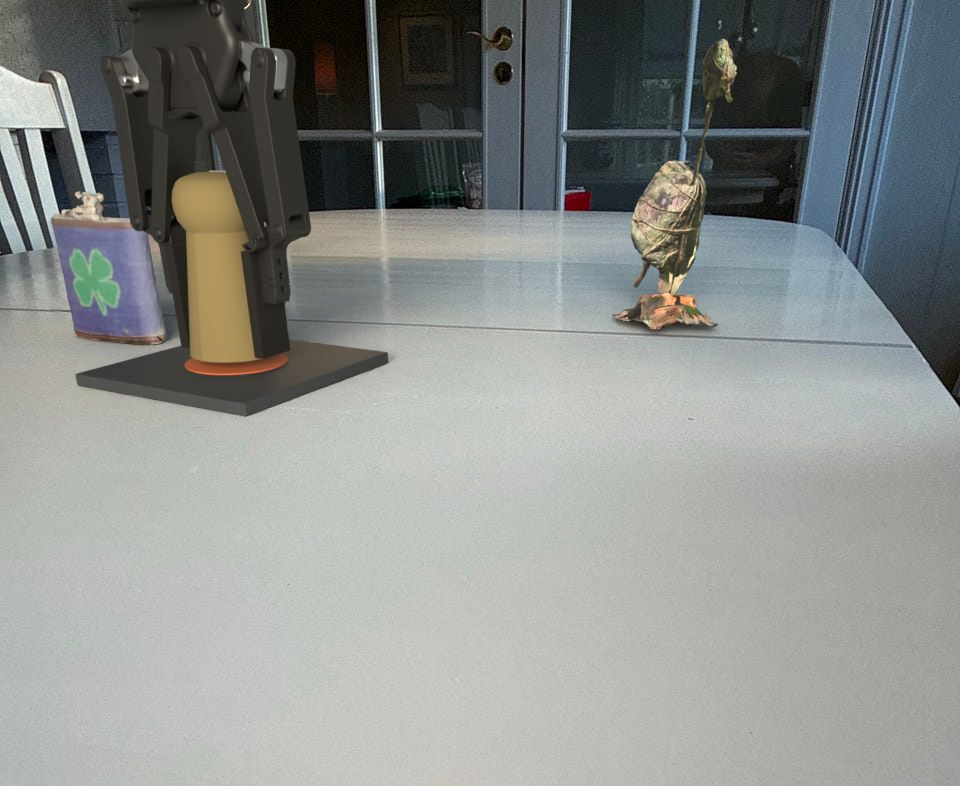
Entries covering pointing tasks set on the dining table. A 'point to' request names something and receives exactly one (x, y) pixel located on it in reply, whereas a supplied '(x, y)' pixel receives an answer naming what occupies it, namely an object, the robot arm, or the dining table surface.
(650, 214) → the plant with pod
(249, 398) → the placemat
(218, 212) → the cork
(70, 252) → the flask
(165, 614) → the dining table surface
